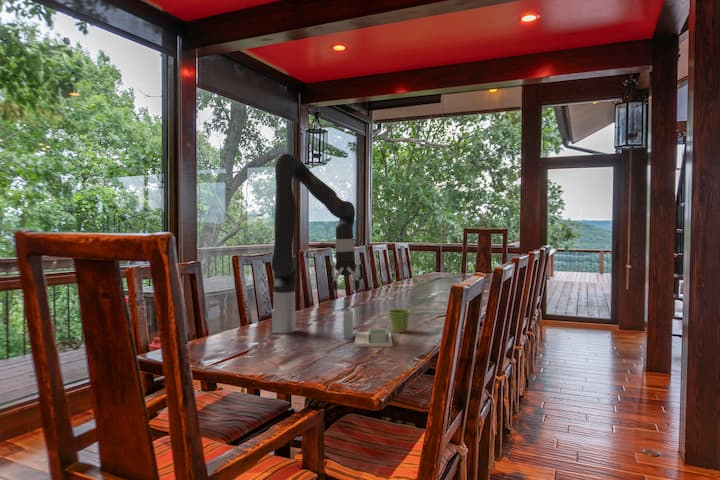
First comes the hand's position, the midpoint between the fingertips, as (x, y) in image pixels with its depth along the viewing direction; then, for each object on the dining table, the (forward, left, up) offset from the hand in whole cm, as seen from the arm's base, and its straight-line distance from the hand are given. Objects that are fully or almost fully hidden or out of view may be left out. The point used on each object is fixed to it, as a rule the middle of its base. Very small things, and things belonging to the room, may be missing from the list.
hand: (346, 290), depth 186 cm
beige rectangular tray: (+11, -7, -19) cm, 23 cm away
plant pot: (+22, +9, -19) cm, 30 cm away
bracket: (+1, -1, -19) cm, 19 cm away
